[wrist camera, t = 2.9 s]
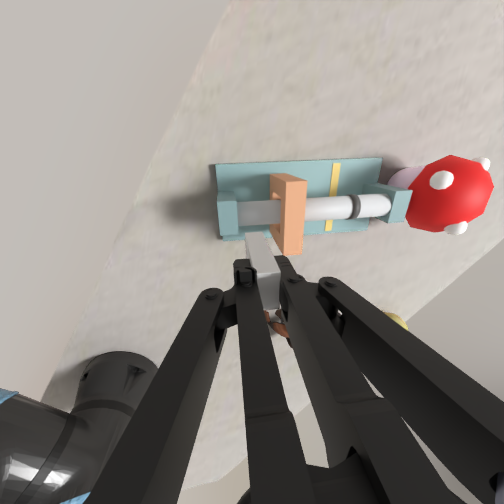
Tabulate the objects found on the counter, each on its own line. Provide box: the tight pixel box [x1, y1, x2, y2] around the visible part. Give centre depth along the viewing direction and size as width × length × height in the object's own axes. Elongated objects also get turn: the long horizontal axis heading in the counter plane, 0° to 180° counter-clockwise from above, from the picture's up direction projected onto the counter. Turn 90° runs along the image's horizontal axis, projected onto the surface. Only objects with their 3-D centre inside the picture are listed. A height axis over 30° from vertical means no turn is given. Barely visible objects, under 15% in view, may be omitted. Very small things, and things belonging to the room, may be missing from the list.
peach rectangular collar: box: [269, 173, 308, 256], centre depth 29 cm, size 2×9×9 cm, turn 2°
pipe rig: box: [215, 158, 413, 241], centre depth 31 cm, size 26×12×8 cm, turn 92°
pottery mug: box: [264, 309, 293, 348], centre depth 43 cm, size 12×10×8 cm
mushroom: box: [387, 155, 494, 235], centre depth 31 cm, size 11×11×12 cm
